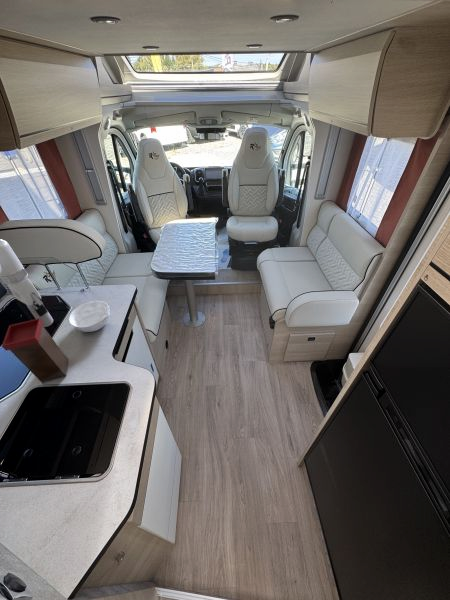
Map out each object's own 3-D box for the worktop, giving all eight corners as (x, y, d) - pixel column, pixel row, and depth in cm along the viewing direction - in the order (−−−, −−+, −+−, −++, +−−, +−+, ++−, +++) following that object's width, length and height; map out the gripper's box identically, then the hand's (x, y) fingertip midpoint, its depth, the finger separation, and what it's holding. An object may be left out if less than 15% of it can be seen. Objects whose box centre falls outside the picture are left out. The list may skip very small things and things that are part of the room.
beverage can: (56, 320, 107) (42, 298, 99) (48, 328, 103) (33, 306, 95) (46, 318, 108) (32, 297, 100) (38, 326, 104) (22, 305, 96)
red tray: (6, 350, 87) (1, 346, 86) (13, 329, 94) (9, 325, 93) (38, 342, 90) (35, 337, 88) (43, 322, 97) (40, 318, 95)
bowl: (72, 319, 130) (66, 309, 125) (108, 306, 137) (104, 296, 132) (78, 343, 118) (72, 333, 113) (118, 327, 125) (113, 316, 120)
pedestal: (42, 383, 103) (8, 349, 88) (45, 365, 110) (14, 330, 94) (66, 376, 105) (37, 341, 90) (68, 359, 112) (41, 324, 96)
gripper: (-11, 273, 90) (18, 310, 102) (16, 287, 83) (43, 325, 95) (11, 263, 95) (36, 299, 107) (38, 275, 88) (61, 313, 100)
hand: (39, 311), depth 101 cm, fingers closed on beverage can, 4 cm apart
